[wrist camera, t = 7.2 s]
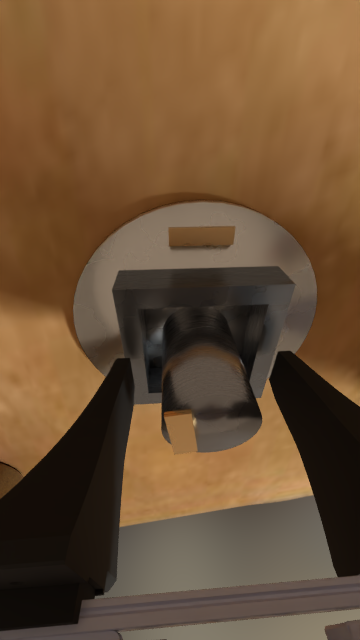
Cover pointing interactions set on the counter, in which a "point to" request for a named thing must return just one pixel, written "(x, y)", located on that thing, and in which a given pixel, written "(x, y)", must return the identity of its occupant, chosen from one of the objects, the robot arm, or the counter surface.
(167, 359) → the shaft
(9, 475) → the plant pot
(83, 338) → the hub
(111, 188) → the counter surface
